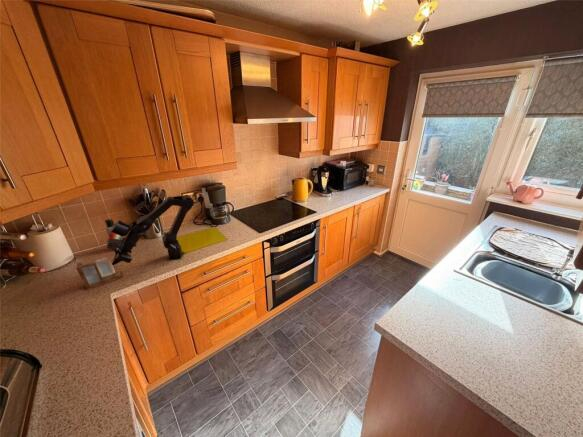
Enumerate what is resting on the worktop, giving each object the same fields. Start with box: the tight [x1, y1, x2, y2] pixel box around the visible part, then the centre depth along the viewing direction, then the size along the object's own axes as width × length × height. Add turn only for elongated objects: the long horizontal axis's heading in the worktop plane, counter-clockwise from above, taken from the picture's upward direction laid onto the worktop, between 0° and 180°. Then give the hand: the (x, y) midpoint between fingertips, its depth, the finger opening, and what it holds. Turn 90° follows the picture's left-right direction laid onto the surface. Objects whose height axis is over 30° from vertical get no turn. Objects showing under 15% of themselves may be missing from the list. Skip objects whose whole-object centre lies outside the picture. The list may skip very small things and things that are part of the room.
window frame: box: [76, 261, 122, 290], centre depth 115 cm, size 14×5×13 cm, turn 128°
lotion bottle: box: [104, 218, 123, 250], centre depth 142 cm, size 6×6×20 cm
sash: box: [93, 256, 116, 277], centre depth 117 cm, size 6×1×10 cm, turn 128°
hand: (112, 264), depth 119 cm, fingers closed, pressing on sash
